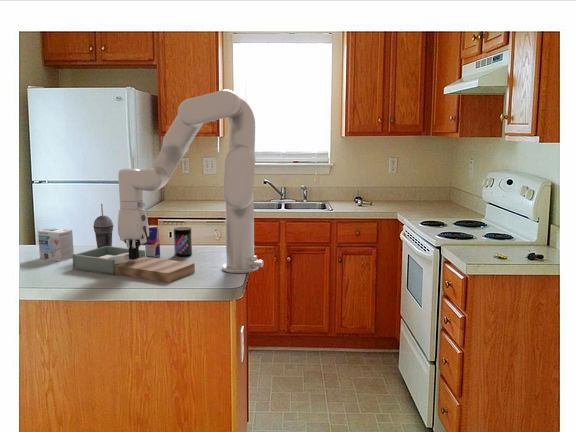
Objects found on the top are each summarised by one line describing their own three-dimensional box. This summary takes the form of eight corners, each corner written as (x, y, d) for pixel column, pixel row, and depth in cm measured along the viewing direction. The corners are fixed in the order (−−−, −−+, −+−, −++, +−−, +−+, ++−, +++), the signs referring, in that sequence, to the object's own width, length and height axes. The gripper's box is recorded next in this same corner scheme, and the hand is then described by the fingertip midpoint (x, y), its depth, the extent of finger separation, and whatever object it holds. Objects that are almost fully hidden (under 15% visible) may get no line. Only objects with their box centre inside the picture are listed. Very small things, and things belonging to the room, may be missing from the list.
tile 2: (138, 258, 184) (137, 251, 184) (124, 262, 178) (123, 255, 178) (123, 260, 187) (122, 253, 187) (109, 264, 181) (107, 257, 181)
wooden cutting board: (194, 271, 179) (194, 263, 178) (168, 282, 166) (168, 273, 166) (143, 264, 188) (143, 256, 187) (115, 274, 175) (114, 265, 175)
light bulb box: (39, 258, 197) (37, 230, 195) (53, 254, 203) (51, 227, 201) (61, 261, 193) (59, 232, 191) (74, 257, 199) (73, 229, 197)
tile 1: (122, 263, 187) (122, 256, 187) (108, 268, 181) (108, 261, 180) (107, 261, 190) (107, 254, 190) (93, 266, 184) (92, 259, 183)
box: (145, 264, 189) (144, 250, 188) (113, 275, 174) (112, 260, 174) (107, 258, 196) (106, 245, 196) (73, 269, 182) (72, 254, 181)
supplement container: (171, 255, 203) (170, 228, 201) (186, 252, 207) (185, 226, 205) (180, 258, 198) (179, 230, 196) (195, 255, 202) (194, 228, 200)
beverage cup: (96, 259, 196) (93, 205, 193) (93, 255, 202) (90, 203, 199) (116, 257, 199) (113, 204, 196) (113, 253, 206) (110, 202, 202)
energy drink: (151, 260, 195) (150, 228, 193) (142, 257, 198) (141, 226, 196) (163, 257, 199) (162, 225, 197) (154, 255, 202) (152, 224, 200)
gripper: (156, 205, 177) (158, 258, 180) (122, 202, 184) (124, 254, 187) (141, 208, 171) (144, 263, 174) (106, 205, 177) (109, 258, 180)
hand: (134, 258), depth 180 cm, fingers closed
